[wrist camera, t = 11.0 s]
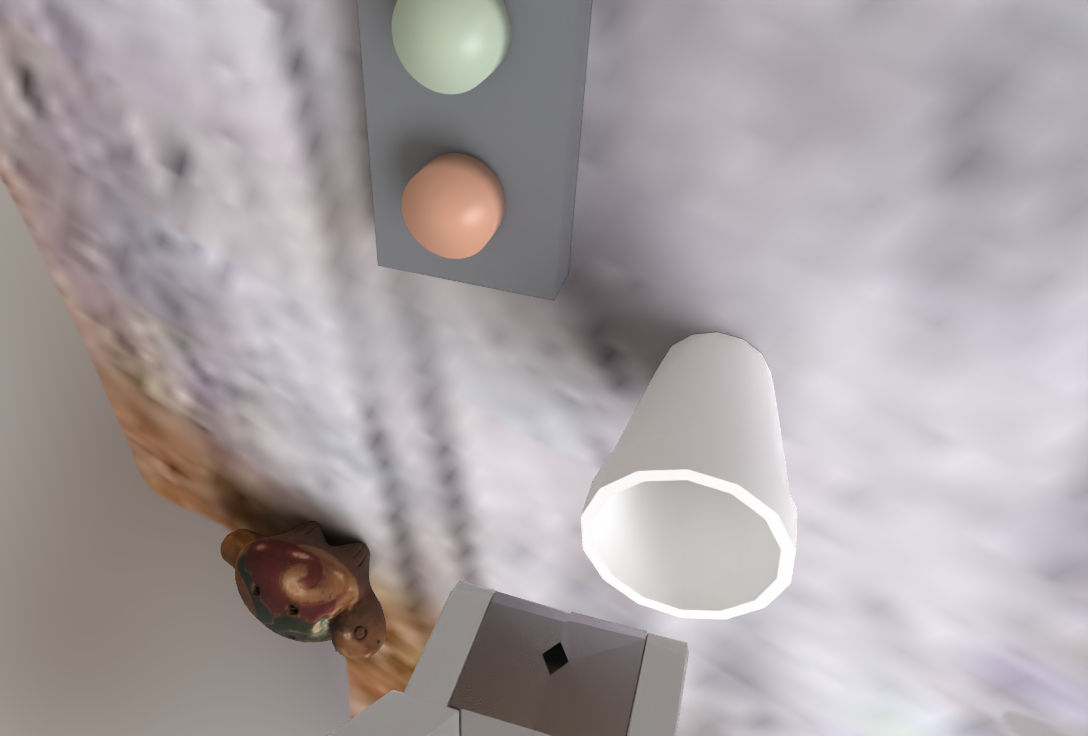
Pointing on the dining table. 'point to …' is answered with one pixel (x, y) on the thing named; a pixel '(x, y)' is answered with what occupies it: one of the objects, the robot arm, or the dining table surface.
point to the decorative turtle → (308, 588)
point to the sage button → (451, 41)
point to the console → (485, 143)
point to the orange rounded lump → (453, 205)
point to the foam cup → (697, 488)
